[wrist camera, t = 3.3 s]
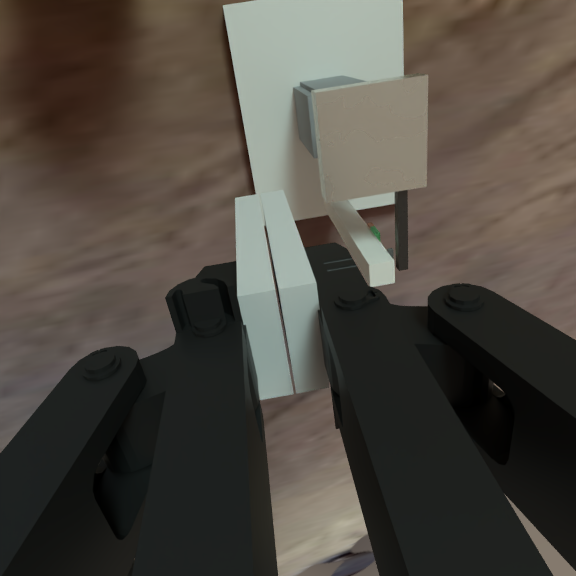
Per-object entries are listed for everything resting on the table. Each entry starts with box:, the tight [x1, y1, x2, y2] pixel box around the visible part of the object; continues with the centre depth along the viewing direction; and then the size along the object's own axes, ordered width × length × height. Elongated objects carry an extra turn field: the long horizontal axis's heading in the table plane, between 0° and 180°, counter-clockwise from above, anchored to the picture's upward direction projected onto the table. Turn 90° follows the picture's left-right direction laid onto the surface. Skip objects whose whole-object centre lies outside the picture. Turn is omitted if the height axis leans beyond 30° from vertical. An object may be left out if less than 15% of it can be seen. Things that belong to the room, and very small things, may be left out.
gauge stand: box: [223, 0, 404, 287], centre depth 32 cm, size 14×18×18 cm
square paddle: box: [311, 73, 428, 271], centre depth 30 cm, size 6×12×10 cm, turn 8°
